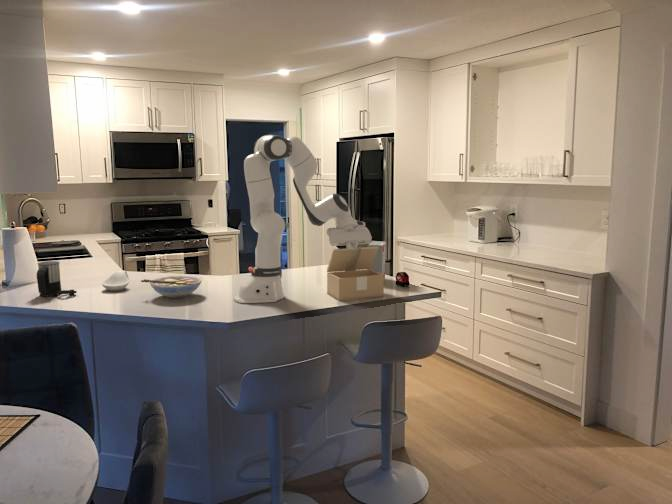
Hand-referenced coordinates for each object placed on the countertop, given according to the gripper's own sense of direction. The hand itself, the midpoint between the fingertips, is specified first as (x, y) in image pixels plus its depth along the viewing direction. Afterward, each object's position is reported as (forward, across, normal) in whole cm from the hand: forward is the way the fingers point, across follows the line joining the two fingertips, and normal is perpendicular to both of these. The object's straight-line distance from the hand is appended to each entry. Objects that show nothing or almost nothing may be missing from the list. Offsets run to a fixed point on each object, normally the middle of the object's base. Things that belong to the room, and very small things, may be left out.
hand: (354, 251), depth 249 cm
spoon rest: (-25, -100, +54) cm, 116 cm away
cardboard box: (+15, 0, +14) cm, 20 cm away
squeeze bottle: (-20, +20, +50) cm, 57 cm away
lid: (+2, 0, +4) cm, 5 cm away
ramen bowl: (-4, -76, +33) cm, 83 cm away
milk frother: (-20, -126, +49) cm, 136 cm away
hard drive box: (0, +22, +30) cm, 37 cm away
